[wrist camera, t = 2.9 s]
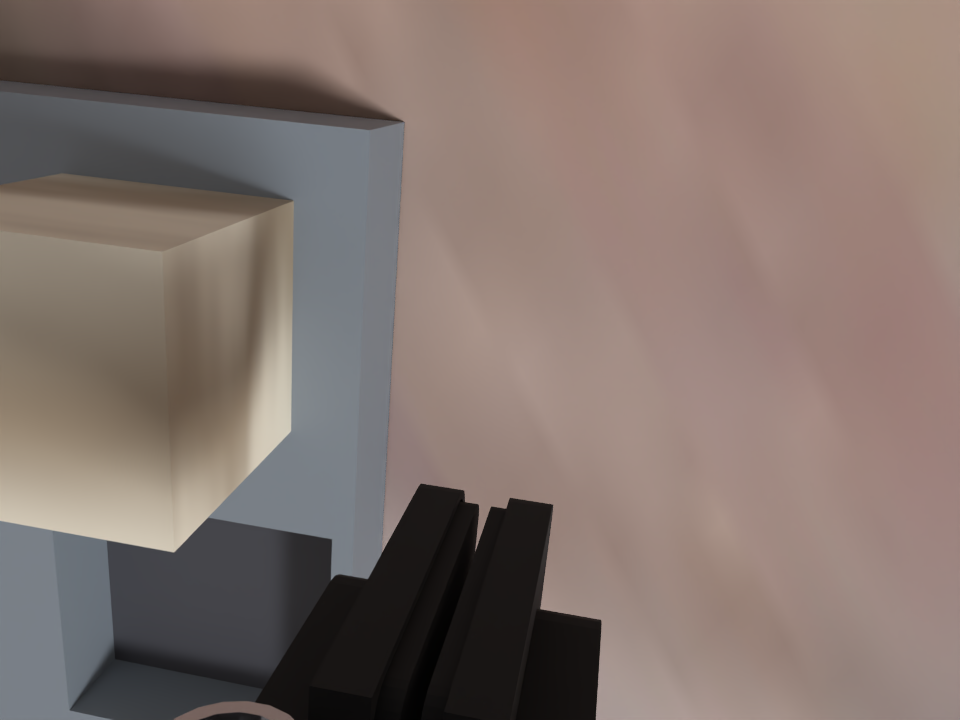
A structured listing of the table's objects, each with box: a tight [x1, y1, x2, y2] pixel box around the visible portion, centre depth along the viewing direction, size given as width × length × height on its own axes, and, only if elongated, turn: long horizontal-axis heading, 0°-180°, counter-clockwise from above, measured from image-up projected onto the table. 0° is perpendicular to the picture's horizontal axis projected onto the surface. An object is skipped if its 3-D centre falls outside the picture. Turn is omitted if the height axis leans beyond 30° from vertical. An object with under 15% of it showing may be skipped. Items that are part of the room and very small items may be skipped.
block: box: [0, 173, 294, 552], centre depth 16 cm, size 5×5×5 cm
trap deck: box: [0, 80, 404, 720], centre depth 22 cm, size 28×16×6 cm, turn 175°
